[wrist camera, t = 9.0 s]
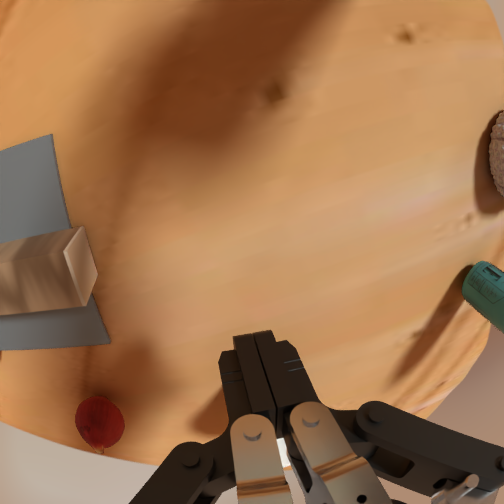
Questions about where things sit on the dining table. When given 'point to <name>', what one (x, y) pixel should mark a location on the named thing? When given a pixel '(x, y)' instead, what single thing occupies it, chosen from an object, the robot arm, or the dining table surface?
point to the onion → (99, 423)
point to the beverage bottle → (486, 292)
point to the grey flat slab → (31, 224)
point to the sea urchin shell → (497, 153)
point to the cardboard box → (46, 272)
